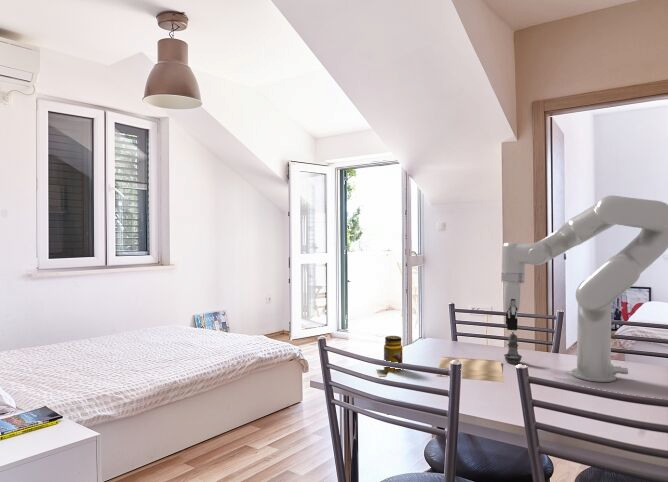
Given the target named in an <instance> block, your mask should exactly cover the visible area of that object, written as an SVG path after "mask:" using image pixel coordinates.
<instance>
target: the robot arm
mask: <svg viewBox="0 0 668 482" xmlns="http://www.w3.org/2000/svg"><path fill="white" fill-rule="evenodd" d="M615 225H618V226H624V227H631V228H636V229H637V228H638V229H640V232H639V233H638V235H637V236H636V237H635V238H634V239H632V240H631V241H630V242H629V243H628V244H627V245H625V246H624V248H622V250H620V251H619V252H617V254H615V255H613V256H611V257H610V258H609V259H608V260H607V261H606V262H605V263H604V264H602V265H601V266H599V268H598V269H597V270H595V271H594V272H593V273H592V274H591V275H590V276H589V277H588V278H586V279H585V280H583V281H582V282H581V283H580V284H579V285H578V287H577V288H576V291H575V300H576V302H577V327H576V328H577V330H576V331H577V334H576V335H577V339H576V340H577V342H576V343H577V344H576V347H577V348H576V349H577V350H576V352H577V353H576V355H577V356H576V368H573V369H572V370H571V375H572V376H573V377H575V378H577V379H580V380H584V381H589V382H597V383H609V382H615V381H616V380H617V374H620V375H628V374H629V368H627V367H622V366H618V365H617V366H615V365H614V364H612V363H611V362H612V361H611V360H612V358H611V357H612V306H613V305H612V303H614V302H615V300H617V299H618V298H620V297H621V296H622V295H623V294H624V293H625V292H626V291H628V290H629V289H630V288H632V287H633V285H636V282H637V281H638V280H639V278H640V276H641V274H642V273H643V272H644V271H646V269H648V268H649V267H650V266H651V265H653V263H654V262H655V261H656V260H657V259H659V258H660V257H661V256H662V255H663V254H664V253H665V252H666V251H667V250H668V203H667V202H663V201H662V200H661V201H660V200H654V199H653V200H652V199H644V198H636V197H635V198H634V197H626V196H621V195H613V194H612V195H608V196H604V197H603V198H601V199H600V200H599V201H598V202H597V203H595V204H594V205H592V206H590V207H589V208H587V209H585V210H583V211H582V212H580V213H578V214H576V215H575V216H572V217H571V218H569V219H568V220H567V221H566V222H565V223H564V224H562V225H561V227H559V228H558V229H557V230H555V231H554V232H552V233H550V234H549V235H547V236H546V237H544V238H543V239H541V240H538V241H537V242H536V241H535V242H530V243H529V242H528V243H524V242H514V241H513V242H512V241H510V242H509V241H508V242H504V243H502V251H501V253H502V255H501V279H500V281H501V282H502V283H504V284H503V299H502V300H503V301H502V309H503V311H504V312H506V313H505V325H506V329H507V331H514V332H515V331H518V312H519V311H520V305H521V304H520V303H521V286H522V285H521V284H525V279H526V278H525V276H526V275H525V274H526V273H525V271H526V264H528V265H533V266H540V265H543V264H545V263H548V262H549V261H551V260H553V259H554V258H557V257H558V256H559V255H561V254H564V253H565V252H567V251H569V250H571V249H572V248H575V247H577V246H579V245H583V243H585V242H587V241H589V240H590V239H592V238H594V237H595V236H597V235H599V234H601V233H603V232H605V231H607V230H609V229H611V228H613V227H614V226H615Z"/></svg>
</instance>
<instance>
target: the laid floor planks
mask: <svg viewBox="0 0 668 482" xmlns="http://www.w3.org/2000/svg"><path fill="white" fill-rule="evenodd" d="M445 369H448V368H445ZM435 376H436V377H438V378H439V377H441V378H449V377H448V376H442V375H437V374H436V375H435ZM461 379H464V380H477V381H489V382H500V383H504V376H503V372H502V373H499V372H486V371H474V370H462V378H461Z"/></svg>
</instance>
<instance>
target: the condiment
mask: <svg viewBox="0 0 668 482" xmlns="http://www.w3.org/2000/svg"><path fill="white" fill-rule="evenodd" d="M384 339H385V341H384V345H383V361H384V360H386V361H391V362H398V363H402V364H403V345H402V337H401V336H397V335H387V336H385V338H384ZM375 370H376V373H377V375H378V377H387V376H388V374H389V373H400V372H402V371H403V369H402V370H401V369H395V368H390V367H384V366H383V369H375Z"/></svg>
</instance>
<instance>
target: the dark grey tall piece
mask: <svg viewBox="0 0 668 482" xmlns="http://www.w3.org/2000/svg"><path fill="white" fill-rule="evenodd" d="M511 332H512V333H511V334H509V335H508V343H507V345H506V346H507V348H508V351H507V353H504V354H503V356H504V360H505V361H506V363H508V364H512V365H513V364H514V365H517V364H519V363H520V362H521V360H522V358H523V356H522V355H520V354H519V352H518V347H519V344H518V336H517V335H516V334H515V331H511Z"/></svg>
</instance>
